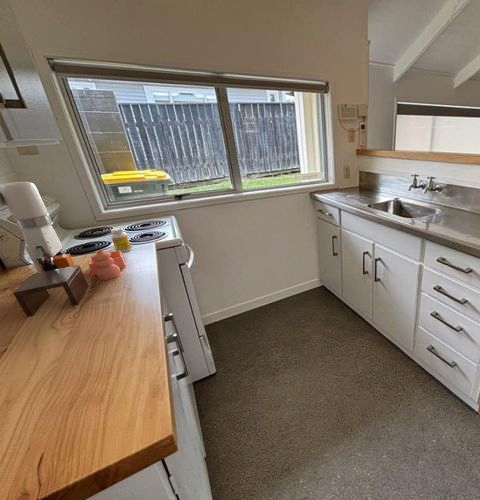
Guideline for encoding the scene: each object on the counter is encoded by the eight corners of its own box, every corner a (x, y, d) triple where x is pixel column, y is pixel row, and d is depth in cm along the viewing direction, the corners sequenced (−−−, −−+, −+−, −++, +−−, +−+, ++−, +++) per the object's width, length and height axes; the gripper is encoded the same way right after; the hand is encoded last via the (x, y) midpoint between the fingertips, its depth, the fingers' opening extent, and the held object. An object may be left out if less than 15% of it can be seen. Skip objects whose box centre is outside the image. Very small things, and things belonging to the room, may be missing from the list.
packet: (50, 286, 95) (37, 262, 91) (54, 281, 98) (42, 258, 94) (77, 280, 98) (65, 257, 94) (80, 276, 101) (69, 253, 98)
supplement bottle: (117, 253, 120) (109, 232, 116) (116, 250, 124) (107, 229, 120) (132, 249, 123) (125, 228, 119) (131, 246, 127) (123, 226, 123)
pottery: (93, 266, 108) (83, 243, 104) (124, 259, 114) (115, 236, 110) (92, 284, 95) (80, 257, 91) (126, 275, 101) (116, 249, 97)
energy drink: (62, 271, 105) (47, 242, 101) (43, 278, 101) (26, 247, 96) (57, 269, 108) (42, 239, 103) (38, 274, 104) (22, 244, 99)
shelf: (27, 317, 79) (12, 292, 75) (44, 296, 89) (32, 273, 86) (78, 304, 83) (66, 281, 80) (89, 286, 94) (79, 264, 91)
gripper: (30, 217, 95) (53, 264, 101) (4, 231, 81) (33, 284, 87) (59, 214, 98) (80, 259, 105) (40, 226, 84) (65, 278, 91)
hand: (59, 270), depth 96 cm, fingers open, 8 cm apart
